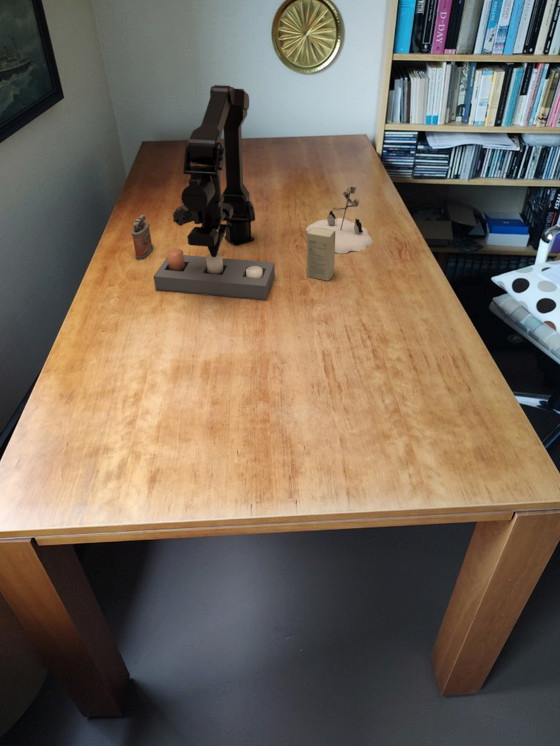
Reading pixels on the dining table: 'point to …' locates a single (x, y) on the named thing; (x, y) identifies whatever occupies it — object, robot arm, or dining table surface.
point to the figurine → (346, 228)
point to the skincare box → (320, 253)
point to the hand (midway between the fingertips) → (214, 256)
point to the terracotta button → (175, 259)
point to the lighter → (141, 238)
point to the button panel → (216, 278)
